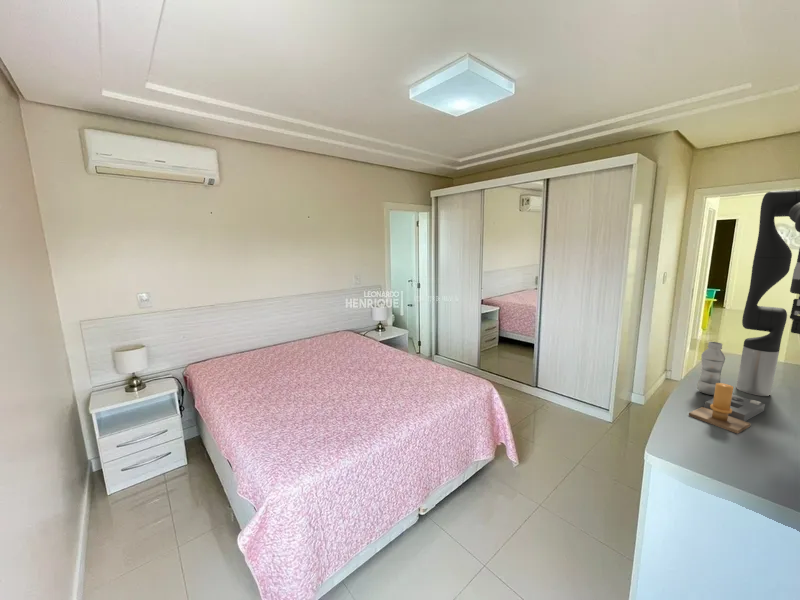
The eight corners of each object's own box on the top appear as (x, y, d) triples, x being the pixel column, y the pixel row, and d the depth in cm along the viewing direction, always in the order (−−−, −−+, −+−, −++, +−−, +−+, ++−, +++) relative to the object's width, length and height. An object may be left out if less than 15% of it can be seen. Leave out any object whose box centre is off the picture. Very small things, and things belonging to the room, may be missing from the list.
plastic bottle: (724, 398, 121) (733, 346, 118) (703, 396, 123) (711, 345, 120) (711, 390, 128) (719, 341, 124) (691, 389, 129) (699, 340, 126)
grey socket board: (725, 398, 121) (726, 390, 120) (763, 410, 112) (765, 402, 112) (703, 408, 114) (705, 400, 113) (743, 422, 105) (745, 413, 104)
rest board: (701, 409, 113) (702, 406, 113) (750, 426, 103) (750, 423, 102) (688, 415, 109) (689, 412, 109) (737, 433, 99) (738, 430, 98)
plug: (713, 412, 109) (717, 381, 107) (733, 419, 105) (738, 386, 103) (706, 416, 107) (710, 384, 105) (726, 423, 102) (731, 390, 101)
